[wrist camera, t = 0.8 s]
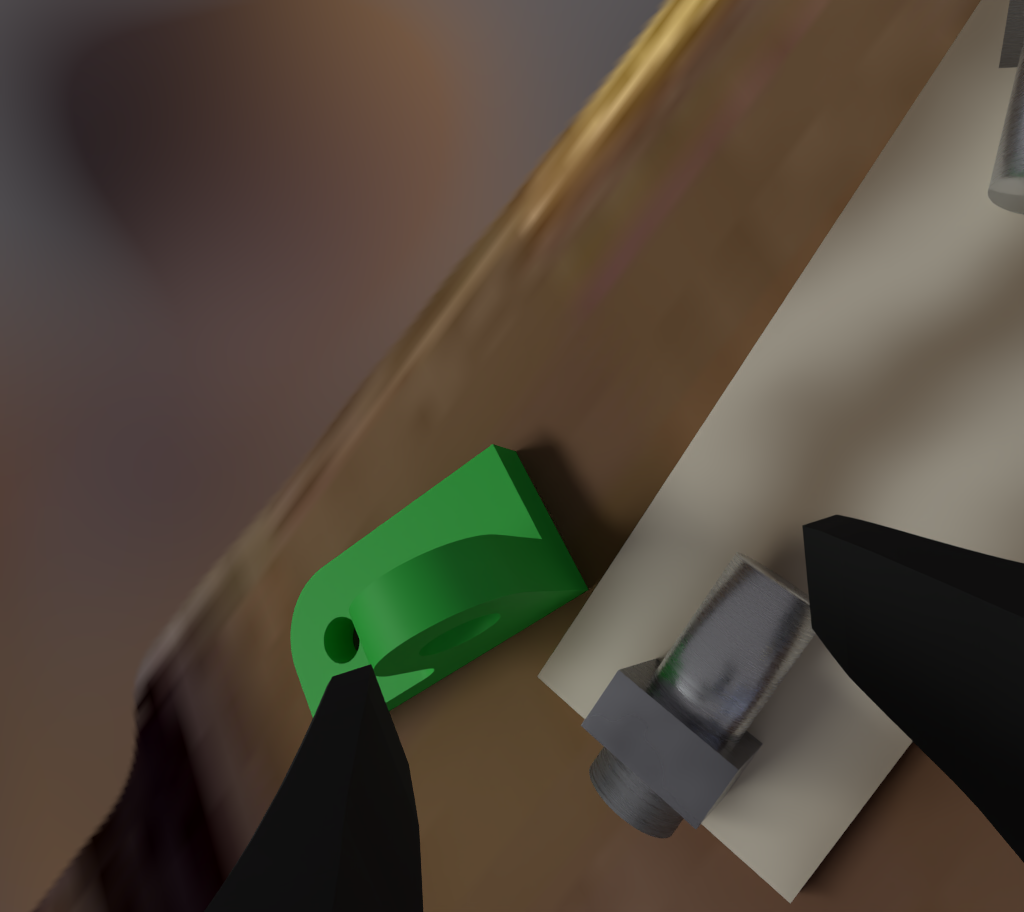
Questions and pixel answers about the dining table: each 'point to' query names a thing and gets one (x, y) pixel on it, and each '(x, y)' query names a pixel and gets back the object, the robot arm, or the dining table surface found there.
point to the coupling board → (845, 452)
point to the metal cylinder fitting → (698, 702)
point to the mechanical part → (435, 583)
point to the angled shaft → (1011, 120)
